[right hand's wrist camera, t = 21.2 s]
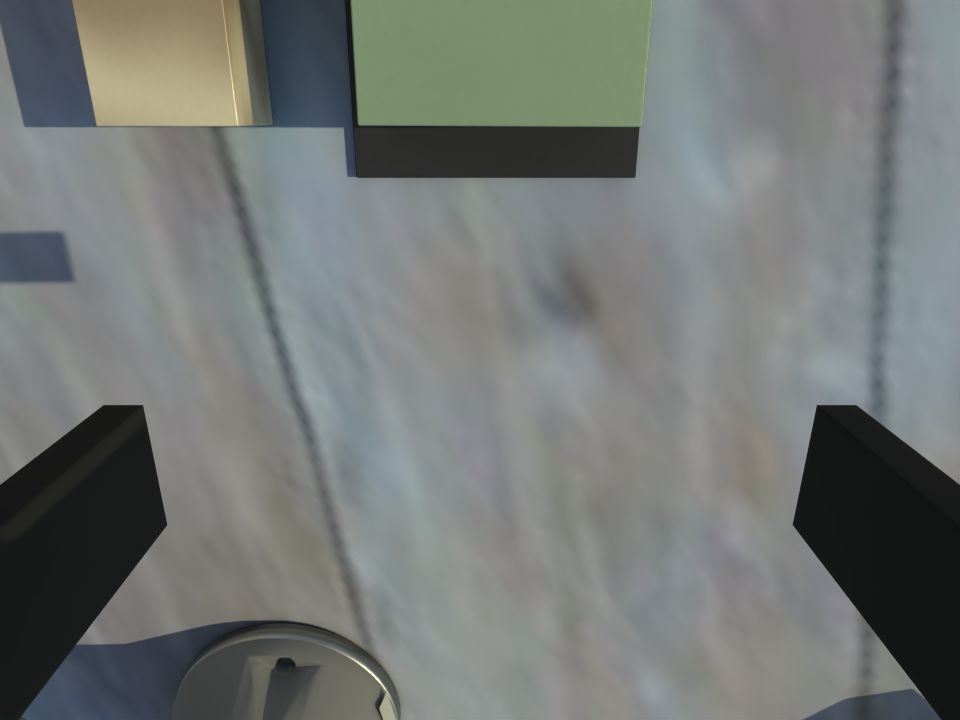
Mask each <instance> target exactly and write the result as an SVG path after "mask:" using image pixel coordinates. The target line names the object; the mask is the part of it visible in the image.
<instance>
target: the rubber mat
mask: <svg viewBox="0 0 960 720" xmlns="http://www.w3.org/2000/svg"><path fill="white" fill-rule="evenodd" d="M345 10H346V25H347V40H348V56H349V71H350V86H351V102H352V117H353V132H354V148H355V163H356V177H357V178H634V177H635V174H636V161H637V149H638V137H639V127H541V126H360V125H358V120H357V103H356V86H355V69H354V52H353V35H352V17H351V0H345Z"/></svg>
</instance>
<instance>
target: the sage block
mask: <svg viewBox="0 0 960 720" xmlns="http://www.w3.org/2000/svg"><path fill="white" fill-rule="evenodd" d="M652 2H653V0H351V17H352V35H353V52H354V69H355V86H356V103H357V120H358V125H360V126H541V127H641V125H642V116H643V105H644V93H645V82H646V70H647V59H648V48H649V36H650V25H651V13H652Z"/></svg>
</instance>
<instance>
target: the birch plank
mask: <svg viewBox="0 0 960 720" xmlns="http://www.w3.org/2000/svg"><path fill="white" fill-rule="evenodd" d="M72 4H73V9H74V14H75V19H76V24H77V29H78V35H79V40H80V45H81V50H82V55H83V60H84V65H85V70H86V75H87V80H88V85H89V90H90V95H91V100H92V106H93V111H94V116H95V121H96V125H97V126H256V125H272V124H273V119H272V109H271V100H270V90H269V81H268V72H267V62H266V53H265V43H264V34H263V25H262V15H261V6H260V0H72Z"/></svg>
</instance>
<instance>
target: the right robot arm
mask: <svg viewBox="0 0 960 720" xmlns="http://www.w3.org/2000/svg"><path fill="white" fill-rule="evenodd" d="M166 526H167V522H166V517H165V512H164V507H163V502H162V497H161V492H160V487H159V482H158V477H157V472H156V467H155V462H154V457H153V452H152V447H151V442H150V438H149V433H148V428H147V423H146V418H145V413H144V408H143V405H103V406H102V407H101V408H99V409H98V410H97V411H96V412H94V413H93V414H92V415H90V416H89V417H88V418H86V419H85V420H84V421H83V422H81V423H80V424H79V425H77V426H76V427H75V428H73V429H72V430H71V431H70V432H68V433H67V434H66V435H64V436H63V437H62V438H61V439H59V440H58V441H57V442H55V443H54V444H53V445H51V446H50V447H49V448H48V449H46V450H45V451H44V452H42V453H41V454H40V455H38V456H37V457H36V458H35V459H33V460H32V461H31V462H29V463H28V464H27V465H25V466H24V467H23V468H22V469H20V470H19V471H18V472H16V473H15V474H14V475H12V476H11V477H10V478H9V479H7V480H6V481H5V482H3V483H2V484H1V485H0V720H26V719H24V718H23V717H21V716H22V715H23V714H24V713H25V710H26V709H27V708H28V707H29V705H30V704H31V703H32V701H33V700H34V699H35V697H36V696H37V695H38V693H39V692H40V691H41V689H42V688H43V687H44V686H45V684H46V683H47V682H48V680H49V679H50V678H51V676H52V675H53V674H54V672H55V671H56V670H57V669H58V667H59V666H60V665H61V663H62V662H63V661H64V659H65V658H66V657H67V655H68V654H69V653H70V652H71V650H72V649H73V648H74V646H75V645H76V644H77V642H78V641H79V640H80V638H81V637H82V636H83V635H84V633H85V632H86V631H87V629H88V628H89V627H90V625H91V624H92V623H93V621H94V620H95V619H96V617H97V616H98V615H99V614H100V612H101V611H102V610H103V608H104V607H105V606H106V604H107V603H108V602H109V600H110V599H111V598H112V597H113V595H114V594H115V593H116V591H117V590H118V589H119V587H120V586H121V585H122V583H123V582H124V581H125V580H126V578H127V577H128V576H129V574H130V573H131V572H132V570H133V569H134V568H135V566H136V565H137V564H138V563H139V561H140V560H141V559H142V557H143V556H144V555H145V553H146V552H147V551H148V549H149V548H150V547H151V545H152V544H153V543H154V542H155V540H156V539H157V538H158V536H159V535H160V534H161V532H162V531H163V530H164V528H165V527H166ZM793 526H794V527H795V528H796V530H797V531H798V532H799V534H800V535H801V536H802V538H803V539H804V540H805V542H806V543H807V544H808V545H809V547H810V548H811V549H812V551H813V552H814V553H815V555H816V556H817V557H818V559H819V560H820V561H821V563H822V564H823V565H824V566H825V568H826V569H827V570H828V572H829V573H830V574H831V576H832V577H833V578H834V580H835V581H836V582H837V583H838V585H839V586H840V587H841V589H842V590H843V591H844V593H845V594H846V595H847V597H848V598H849V599H850V600H851V602H852V603H853V604H854V606H855V607H856V608H857V610H858V611H859V612H860V614H861V615H862V616H863V617H864V619H865V620H866V621H867V623H868V624H869V625H870V627H871V628H872V629H873V631H874V632H875V633H876V635H877V636H878V637H879V638H880V640H881V641H882V642H883V644H884V645H885V646H886V648H887V649H888V650H889V652H890V653H891V654H892V655H893V657H894V658H895V659H896V661H897V662H898V663H899V665H900V666H901V667H902V669H903V670H904V671H905V672H906V674H907V675H908V676H909V678H910V679H911V680H912V682H913V683H914V684H915V686H916V687H917V688H918V689H919V691H920V692H921V693H922V695H923V696H924V697H925V699H926V700H927V701H928V703H929V704H930V705H931V707H932V708H933V709H934V710H935V712H936V713H937V714H938V716H939V717H940V718H941V720H960V485H959V484H958V483H957V482H955V481H954V480H953V479H951V478H950V477H949V476H948V475H946V474H945V473H944V472H942V471H941V470H940V469H938V468H937V467H936V466H935V465H933V464H932V463H931V462H929V461H928V460H927V459H925V458H924V457H923V456H922V455H920V454H919V453H918V452H916V451H915V450H914V449H912V448H911V447H910V446H909V445H907V444H906V443H905V442H903V441H902V440H901V439H899V438H898V437H897V436H896V435H894V434H893V433H892V432H890V431H889V430H888V429H887V428H885V427H884V426H883V425H881V424H880V423H879V422H877V421H876V420H875V419H874V418H872V417H871V416H870V415H868V414H867V413H866V412H864V411H863V410H862V409H861V408H859V407H858V406H857V405H817V408H816V413H815V418H814V423H813V428H812V433H811V437H810V442H809V447H808V452H807V457H806V462H805V467H804V472H803V477H802V482H801V487H800V492H799V497H798V502H797V507H796V512H795V517H794V522H793ZM400 716H401V710H400V702H399V697H398V694H397V691H396V688H395V686H394V684H393V682H392V680H391V678H390V677H389V675H388V674H387V672H386V671H385V670H384V668H383V667H382V666H381V665H380V664H379V663H378V662H377V661H376V660H375V659H374V658H373V657H372V656H371V655H370V654H369V653H367V652H366V651H365V650H363V649H362V648H361V647H359V646H358V645H356V644H354V643H353V642H351V641H349V640H347V639H345V638H343V637H341V636H339V635H336V634H334V633H331V632H328V631H325V630H322V629H318V628H314V627H310V626H304V625H297V624H262V625H256V626H251V627H247V628H243V629H240V630H237V631H234V632H231V633H229V634H227V635H225V636H222V637H221V638H219V639H217V640H216V641H214V642H213V643H211V644H210V645H208V646H207V647H206V648H205V649H204V650H203V651H202V652H200V653H199V655H198V656H197V657H196V658H195V659H194V661H193V662H192V664H191V665H190V667H189V669H188V671H187V672H186V674H185V676H184V678H183V680H182V682H181V684H180V686H179V688H178V691H177V694H176V697H175V699H174V703H173V706H172V709H171V715H170V720H400Z"/></svg>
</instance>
